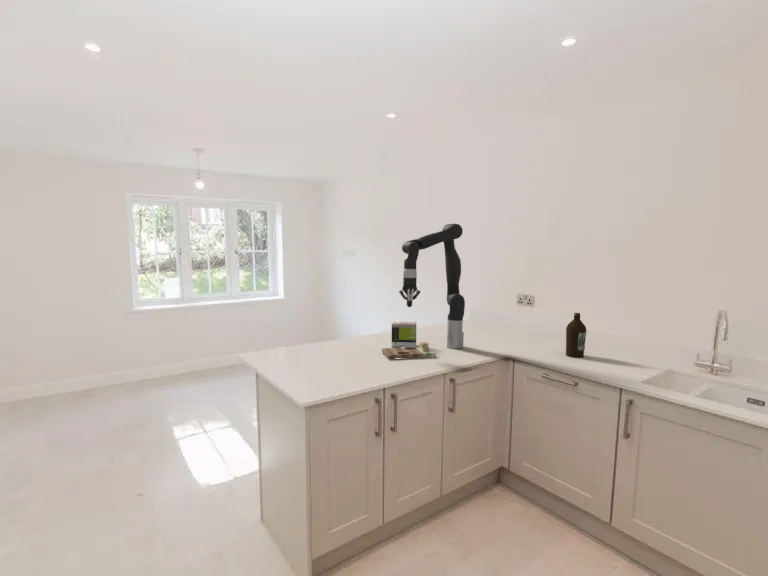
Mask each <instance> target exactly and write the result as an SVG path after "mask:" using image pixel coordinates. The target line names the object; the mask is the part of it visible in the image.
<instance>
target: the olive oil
mask: <svg viewBox="0 0 768 576" xmlns="http://www.w3.org/2000/svg"><path fill="white" fill-rule="evenodd" d="M565 329H566V330H565V355H566V356H567V357H570V358H575V359H582V358H584V355H585V349H586V348H585V347H586V337H587V326H586V325H585V324H584V322H583V321H582V320H581V313H580V312H574V314H573V319H572V320H571V321H569V323H567V325H566V328H565Z"/></svg>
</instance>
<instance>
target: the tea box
mask: <svg viewBox="0 0 768 576" xmlns="http://www.w3.org/2000/svg"><path fill="white" fill-rule="evenodd" d="M398 347H417V321H392V323H391V348H398Z"/></svg>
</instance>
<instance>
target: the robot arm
mask: <svg viewBox="0 0 768 576" xmlns="http://www.w3.org/2000/svg"><path fill="white" fill-rule="evenodd" d="M463 233H464V232H463V227H462V225H460V224H459V223H448V224H445V225H444V226H443V227H442V230H440V231H438V232H434V233H433V232H432V233H429V234H426V235H424V236H421V237H418V238H415V239H411V240H408V241H405V242H404V243H403V244H402V245H401V250H402V252H403V253H405V254H407V257H406V258H405V259H404V262H403V276H402V277H403V278H402V279H403V281H402V282H403V283H402V288H401V290H398V293H399V295H400V296H402V299H403V300H406V306H407V308H411V307H413V301H414V300H416V299H417V298H418V297H419V295H420V294H421V290H419V289H418V287H417V280H418V279H417V278H418V275H417V272H418V271H417V260H418V257H419V255H420V254H419V253H420V250H425V249H427V248H431V247H433V246H436V245H439V244H441V243H443V246H444V247H443V248H444V258H445V259H444V260H445V273H446V289H447V290H446V303H447V305H448V306H449V313H448V315H447V327H446V329H447V331H446V348H449V349H456V350H457V349H461V348H464V336H465V335H464V333H465V332H464V331H463V323H464V320H463V319H464V315H465V305H466V300H465V297H464V296H463V295H462V294H460V280H461V274H462V262H461V258H460V256H459V253H458V251H457V249H456V246H455V240H457V239H459V238H461V236H462V234H463Z"/></svg>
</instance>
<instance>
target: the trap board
mask: <svg viewBox="0 0 768 576" xmlns="http://www.w3.org/2000/svg"><path fill="white" fill-rule="evenodd" d="M382 352H383V353H384V354H385V355H386V357H387V358H388V359H393V360H396V359H395V358H412V359H421V358H420V357H431V358H436V352H434V350H432V349H431V348H429V350H424V351H422V350H420V349H419V346H416V347H404V348H398V347H387V348H382V349H381V353H382ZM383 353H382V354H383ZM384 354H383V355H384ZM385 355H384V356H385ZM386 357H385V358H386ZM387 358H386V359H387ZM388 359H387V360H388Z"/></svg>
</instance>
